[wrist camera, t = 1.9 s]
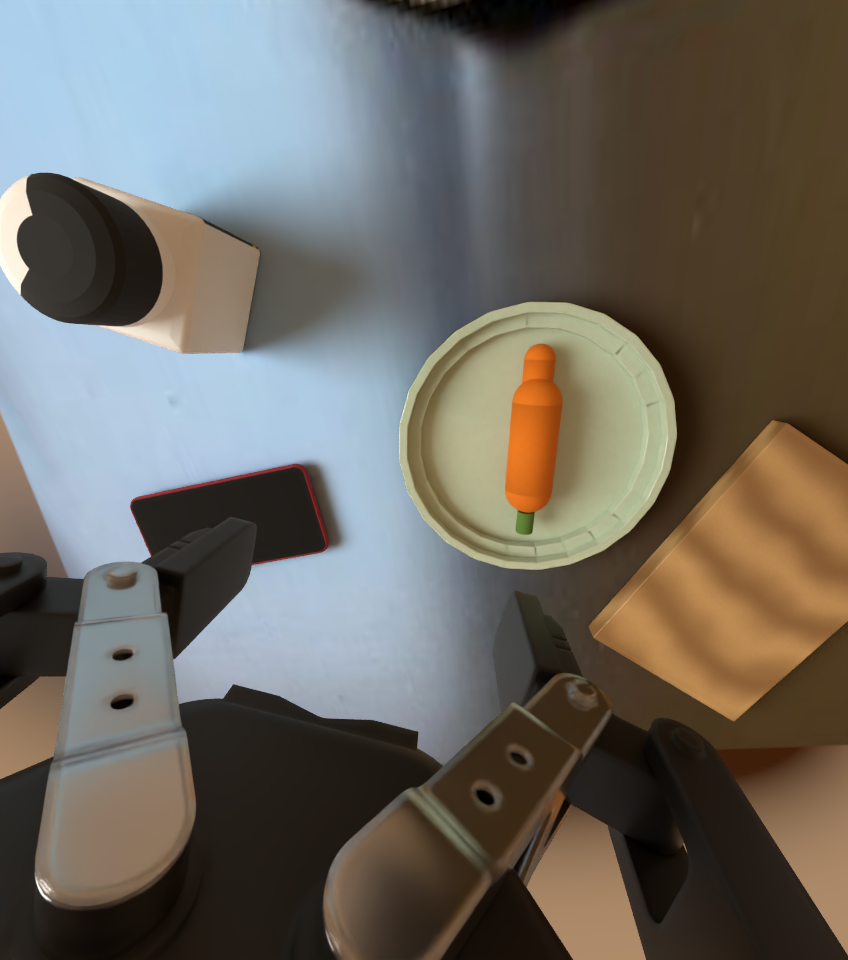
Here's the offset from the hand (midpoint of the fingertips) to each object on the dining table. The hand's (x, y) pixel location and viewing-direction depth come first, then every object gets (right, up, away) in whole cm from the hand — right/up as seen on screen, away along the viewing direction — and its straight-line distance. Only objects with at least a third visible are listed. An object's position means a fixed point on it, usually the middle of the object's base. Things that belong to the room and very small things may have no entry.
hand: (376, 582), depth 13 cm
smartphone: (-14, 0, +22) cm, 26 cm away
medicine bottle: (-14, +17, +17) cm, 27 cm away
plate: (+9, +6, +18) cm, 21 cm away
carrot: (+9, +6, +17) cm, 20 cm away
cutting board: (+26, -4, +20) cm, 33 cm away
